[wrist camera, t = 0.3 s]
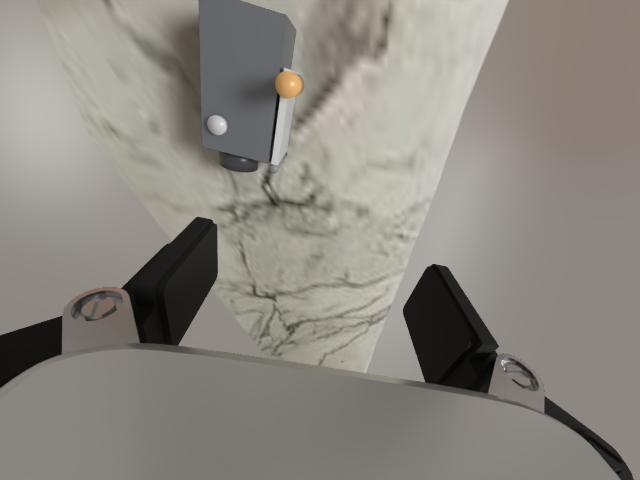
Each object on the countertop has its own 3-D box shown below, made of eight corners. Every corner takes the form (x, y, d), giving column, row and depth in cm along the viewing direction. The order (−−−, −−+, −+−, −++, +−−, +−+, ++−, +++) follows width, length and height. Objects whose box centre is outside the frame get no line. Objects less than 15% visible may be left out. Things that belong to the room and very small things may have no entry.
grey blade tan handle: (292, 70, 31) (272, 63, 20) (310, 75, 32) (300, 72, 20) (279, 156, 37) (258, 187, 26) (295, 159, 37) (281, 192, 26)
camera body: (229, 9, 29) (194, -16, 21) (296, 30, 29) (285, 12, 22) (225, 152, 38) (199, 170, 30) (276, 165, 38) (264, 185, 31)
